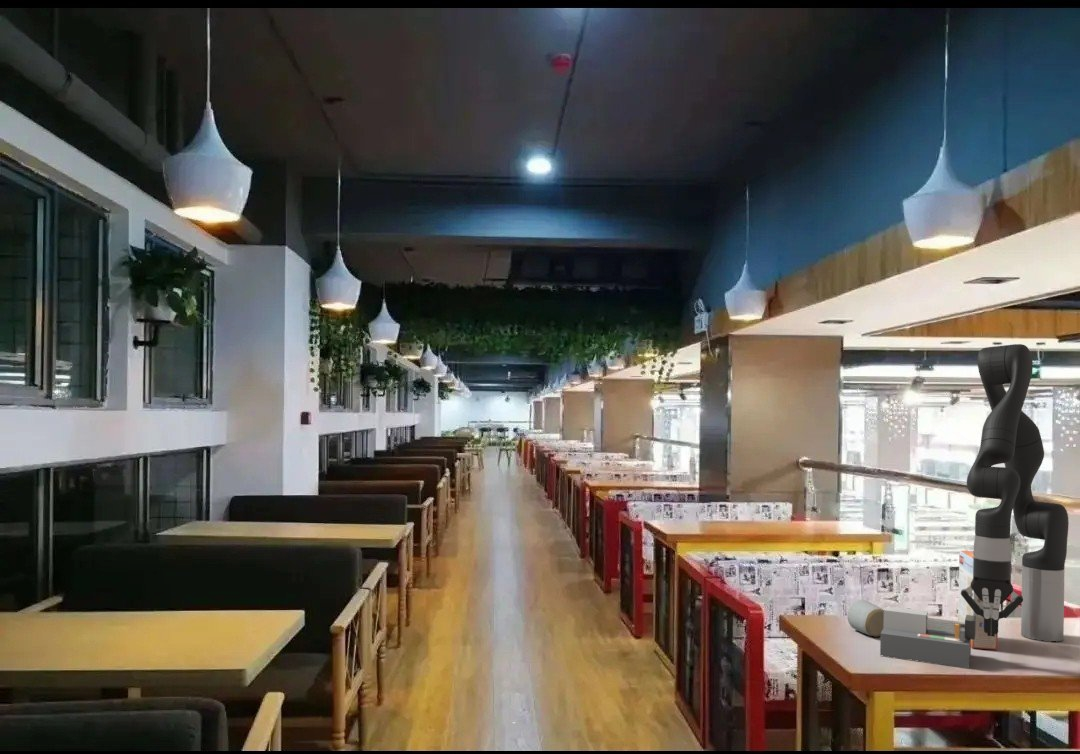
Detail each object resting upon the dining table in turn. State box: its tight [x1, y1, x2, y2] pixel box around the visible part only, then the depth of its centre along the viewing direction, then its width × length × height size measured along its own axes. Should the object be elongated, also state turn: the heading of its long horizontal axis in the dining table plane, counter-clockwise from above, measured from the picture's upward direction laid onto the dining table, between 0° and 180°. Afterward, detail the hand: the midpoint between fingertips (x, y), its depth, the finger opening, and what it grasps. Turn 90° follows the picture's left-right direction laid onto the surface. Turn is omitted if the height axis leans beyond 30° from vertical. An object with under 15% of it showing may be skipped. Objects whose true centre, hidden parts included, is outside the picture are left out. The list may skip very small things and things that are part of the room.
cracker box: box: [957, 550, 999, 651], centre depth 221 cm, size 14×6×21 cm, turn 168°
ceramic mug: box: [846, 599, 884, 638], centre depth 227 cm, size 11×8×8 cm
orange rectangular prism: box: [955, 624, 959, 639], centre depth 202 cm, size 1×1×3 cm
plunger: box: [926, 615, 976, 641], centre depth 206 cm, size 9×11×4 cm
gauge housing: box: [879, 605, 972, 669], centre depth 208 cm, size 12×18×9 cm, turn 63°
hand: (990, 635), depth 203 cm, fingers closed
